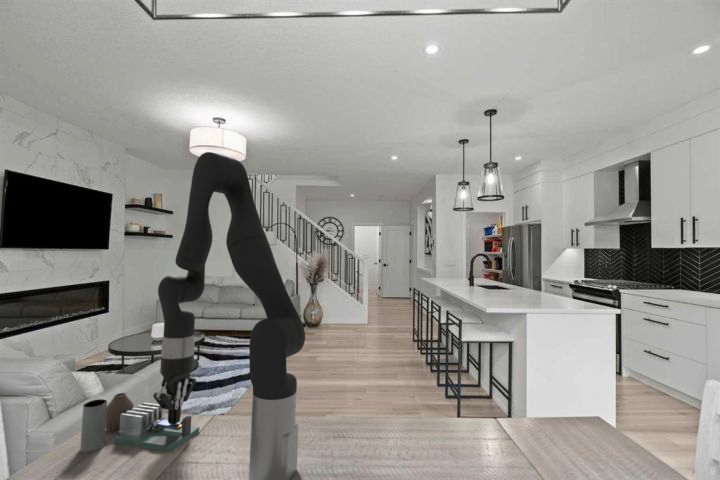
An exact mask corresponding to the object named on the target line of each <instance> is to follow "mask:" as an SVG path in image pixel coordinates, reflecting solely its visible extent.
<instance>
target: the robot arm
mask: <svg viewBox="0 0 720 480" xmlns="http://www.w3.org/2000/svg"><path fill="white" fill-rule="evenodd" d="M193 167H194V168H193V173H192V178H191V184H190V189H189V190H190V191H189V197H188V204H187V205H188V206H187V215H186V220H185V224H184V225H185V226H184V229H183V234H182V236H181V237H182V238H181V240H180V244H179V247H178V250H177V252H176V255H175V262H174V263H175V264H176V266H177V267H178V268H180V269H182V270H184V271H187V274H182V275H181V274H178V275H175V274H174V275H167V276H164V277H163V278H162V279H161V280H160V282H159V284H158V286H157V295H158V299H159V302H160V307H161V311H162V316H163V317H162V318H163V321H164V322H163V337H162V343H161V351H160V353H161V354H160V366H159V367H160V368H159V369H160V370H159V372H160V374H161V376H162V381H161V388H160V390H159V391H158V392H154V393H153V399H154V400H155V401H156V402H157V404H159V405H160V406H161V408H162V409H164V410H168V411H167V413H168V414H167V420H168V423H169V424H176V423H178V422H180V421H181V417H182V416H181V415H182V414H181V413H182V407H183V406H184V402H185V403H186V402H187V401H188V400H189V397H190V395H191V393H192V391H193V388H194V386H195V384H196V381H197V378H194V377H192V376H191V372H192V371H193V370H194V361H195V360H194V359H195V346H196V345H195V322H196V321H195V319H196V317H195V314H194V313H193V312H192V311H188V310H187V311H186V310H182V308H181V307H180V303H191V302H195V301H197V300H199V299H200V298H201V296H202V295H203V294H204V292H205V285H206V284H205V281H206V279H205V276H206V275H205V274H206V263H207V259H208V257H209V255H210V250H211V248H212V245H213V229H212V225H211V224H212V223H211V221H210V220H211V219H210V214H209V209H210V208H209V207H210V202H211V199H212V197H213V194H214V193H217V194H218V193H219V194H223V195H224V197H225V198H226V200H227V203H228V206H229V209H230V214H231V215H230V216H231V218H230V222H229V225H228V229H227V233H226V239H225V242H226V249H227V251H228V255H229V258H230V261H231V263H232V266H233V268H234V271H235V272H236V274H237V276H239V278H240V279H241V280H242V281H243V282H244V284H245V285H246V286H247V287H248V288H249V289H250V290H251V291H252V292H253V293H254V295H255V296H256V297H257V299H259V300H258V301H259V302H260V303H261V305H262V307H263V310H264V312H265V315H266V318H263V319H260V320H259V321H257V322H256V324H255V325H254V326H253V327H252V330H251V333H250V338H249V349H248V350H249V379H250V382H251V386H252V403H251V404H252V405H251V419H250V420H251V422H250V423H251V425H250V444H249V464H248V466H249V467H248V472H249V473H248V479H249V480H291V478H292V477H293V475H294V474H295V473H296V471H297V469H298V467H297V466H298V452H299V451H298V450H299V449H298V448H299V424H298V423H296V417H297V415H296V411H297V390H298V386H297V385H298V381H297V380H298V379H297V378H296V376H295V375H294V374H292V373H290V372H287V371H288V370H287V358H289V357H291V356H294V355H296V354H297V353H299V352H300V351H301V350H302V349H303V347H304V345H305V341H306V331H305V327H304V324H303V322H302V319H301V318H300V315H299V314H298V312H297V309H296V308H295V307H296V306H295V305H294V302H292V300H291V299H292V298H291V297H290V295H289V293H288V290H287V289H286V286H285V283H284V281H283V278H282V275H281V272H280V270H279V268H278V266H277V263H276V260H275V257H274V254H273V251H272V248H271V245H270V243H269V242H270V241H268V237H267V235H266V232H265V230H264V227H263V224H262V222H261V218H260V216H259V213H258V210H257V207H256V204H255V200H254V197H253V196H254V195H253V191H252V189H251V185H250V180H249V176H248V173H247V170H246V168H245V166H244V164H243V163H242V162H241V161H240V160H238V159H236V158H234V157H230V156H228V155H224V154H221V153H218V152H214V151H205V152H203V153H202V154H200V156H199V157H198V158H197V160H196V162H195V164H194V166H193Z"/></svg>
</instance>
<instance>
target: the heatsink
mask: <svg viewBox="0 0 720 480" xmlns="http://www.w3.org/2000/svg"><path fill="white" fill-rule="evenodd" d="M164 410H165V409H162V408H161V406H160V405H159V404H158V403H150V402H142V404H137V406H136V407H134V408H132V411H129V410H128V411H126V414H124V413H122V414H120V430H119V431H118V432H117V436H124V437H130V438H137V439H140V438H141V437H143V436H145V435H146V434H148V433H149V432H150V433H157V432H158V431H160V430H161V429H163V428H162V427H155V428H153V427H152V423H154V422H156V421H157V420H159V419H161V418H162V417H164Z"/></svg>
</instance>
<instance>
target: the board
mask: <svg viewBox="0 0 720 480" xmlns="http://www.w3.org/2000/svg"><path fill="white" fill-rule="evenodd" d="M200 428H201V427H200V426H197V425H191V432H190V433H189V434H187V435H186V436H182V428H181V429H180V430H173V429H167V428H163V429H161V430H160V431H158V432H157V433H150V432H149V433H148V434H146V435H145V436H143V437H141V438H140V439H137V438H130V437H124V436H118V435H117V436H115V437H114V439H113V443H116V444H120V445H127V446H131V447H132V446H133V447H137V448H143V449H144V448H146V449H150V450H151V449H152V450H156V451H157V450H158V451H163V452H170V453H173V452H174V451H175V450H176V449H177V448H179V447H180V446H182V445H184V443H186V442H188V441H189V440H190V439H191V438H193V437H194V436H196V435H197V434H199V432H200Z"/></svg>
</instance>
